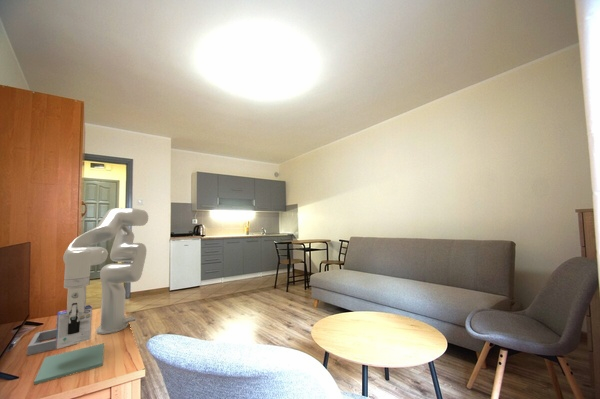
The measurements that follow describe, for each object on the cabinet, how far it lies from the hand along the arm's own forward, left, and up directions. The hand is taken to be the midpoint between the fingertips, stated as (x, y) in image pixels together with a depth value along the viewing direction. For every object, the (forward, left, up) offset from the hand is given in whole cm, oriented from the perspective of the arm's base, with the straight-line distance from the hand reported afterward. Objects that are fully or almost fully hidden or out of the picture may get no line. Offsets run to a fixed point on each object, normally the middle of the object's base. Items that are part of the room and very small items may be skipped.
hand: (74, 329), depth 97 cm
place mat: (0, 0, -12) cm, 12 cm away
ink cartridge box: (0, 0, -5) cm, 5 cm away
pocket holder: (+8, -25, -12) cm, 29 cm away
